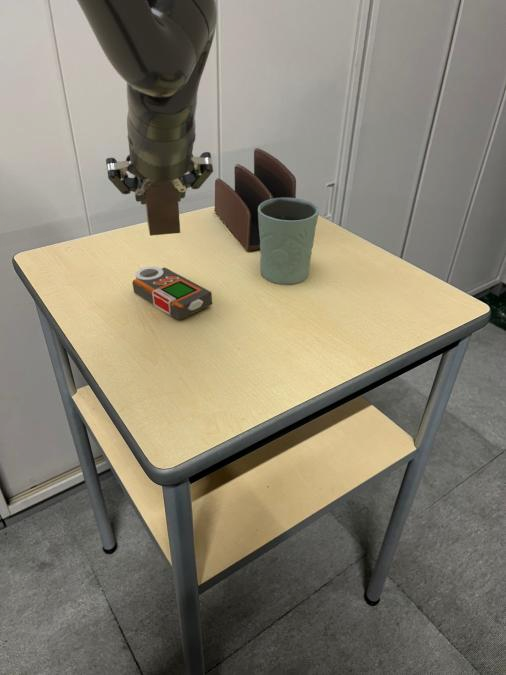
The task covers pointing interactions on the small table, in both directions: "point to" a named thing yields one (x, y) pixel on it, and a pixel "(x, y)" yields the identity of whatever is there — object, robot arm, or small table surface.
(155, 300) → the electronic device
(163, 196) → the walnut block
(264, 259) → the green cup
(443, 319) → the small table surface
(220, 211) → the letter holder
